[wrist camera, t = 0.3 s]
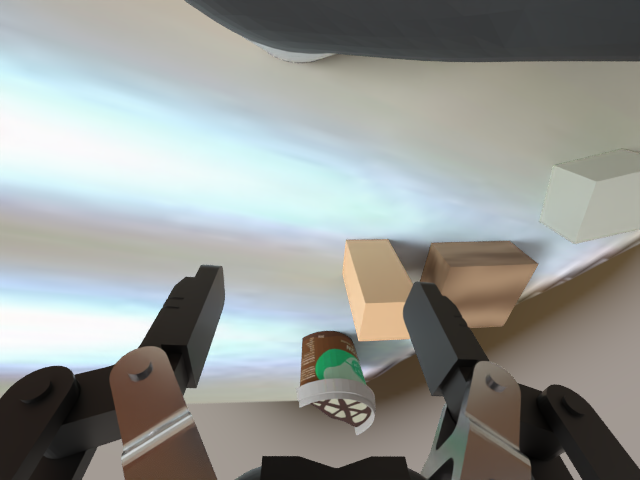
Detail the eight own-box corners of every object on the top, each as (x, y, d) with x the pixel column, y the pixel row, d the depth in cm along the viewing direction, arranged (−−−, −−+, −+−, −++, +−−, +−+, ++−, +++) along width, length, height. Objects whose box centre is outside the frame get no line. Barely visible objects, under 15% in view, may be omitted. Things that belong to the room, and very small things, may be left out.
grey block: (552, 164, 29) (596, 181, 24) (620, 148, 28) (677, 162, 24) (537, 221, 32) (574, 244, 28) (597, 207, 32) (643, 228, 28)
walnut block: (430, 241, 33) (450, 267, 29) (507, 239, 34) (538, 264, 29) (412, 301, 38) (427, 330, 34) (480, 298, 39) (502, 326, 35)
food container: (377, 350, 43) (397, 419, 35) (346, 367, 45) (359, 436, 37) (328, 312, 38) (338, 383, 29) (295, 333, 39) (296, 406, 31)
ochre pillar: (346, 239, 31) (365, 303, 23) (388, 239, 32) (422, 301, 23) (342, 273, 34) (358, 341, 26) (381, 272, 34) (409, 339, 26)
